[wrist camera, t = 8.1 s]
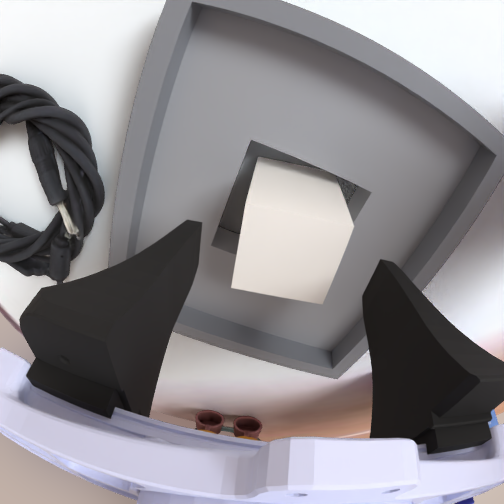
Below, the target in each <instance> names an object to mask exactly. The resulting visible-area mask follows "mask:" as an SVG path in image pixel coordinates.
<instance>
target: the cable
mask: <svg viewBox="0 0 504 504" xmlns="http://www.w3.org/2000/svg"><path fill="white" fill-rule="evenodd" d="M25 120H26V128H27V133H28V138H29V139H28V145H29V150H30V155H31V158H32V161H33V163H34V165H35V167H36V170H37V173H38V176H39V180H40V182H41V185H42V187H43V189H44V192H45V194H46V196H47V198H48V201H49V203H50V205H52V206H53V205H56V206H57V207H58V210H59V211H58V213H57V214H56V215H55V217H54V218H53V220H52V222H51V223H50V224H49V226H48V227H47V228H46V230H45V231H42V232H39V231H37V230H35V229H33V228H31V227H29V226H27V225H25V224H23V223H18V224H16V223H14V222H10V223H9V222H7V221H6V220H4V219H3V218H1V217H0V223H1V224H3V225H4V226H0V261H1V262H5V263H7V264H9V265H10V266H11V267H13V268H14V269H16V270H17V271H19V272H20V273H22V274H23V275H25V276H32V275H35V276H42V275H47V276H48V277H50V278H51V279H52V280H55V281H57V284H63V281H64V279H66V278H67V276H68V275H69V271H70V261H72V260H73V259H75V258H76V257H77V256H78V254H79V253H80V251H81V249H82V245H83V239H84V237H86V236H87V235H88V234H89V232H90V231H91V229H92V226H93V222H94V218H95V217H96V216H97V215H98V213H99V212H100V210H101V208H102V206H103V203H104V186H103V183H102V180H101V177H100V175H99V173H98V170H97V162H96V158H95V155H94V152H93V150H92V142H91V136H90V133H89V131H88V129H87V127H86V125H85V124H84V122H83V121H82V120H81V119H80V118H79V117H78V116H77V115H76V114H74V113H73V112H71V111H69V110H67V109H65V108H61V107H59V105H58V104H57V102H56V101H55V100H54V99H53V98H52V97H51V96H50V95H49V94H48V93H47V92H45V91H44V90H42V89H41V88H39V87H36V86H34V85H29V84H23V83H22V82H20V81H19V80H17V79H15V78H13V77H11V76H8V75H4V74H0V125H1V124H2V122H3V121H5V122H6V123H8V124H16V123H20V122H22V121H25ZM50 139H52V141H53V142H54V144H55V146H56V148H57V150H58V151H59V153H60V155H61V157H62V159H63V161H64V169H65V176H66V182H67V190H63V188H62V184H61V180H60V175H59V170H58V166H57V163H56V159H55V155H54V148H53V146H52V143H51V141H50Z"/></svg>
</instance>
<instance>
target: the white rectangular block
mask: <svg viewBox="0 0 504 504" xmlns="http://www.w3.org/2000/svg"><path fill="white" fill-rule="evenodd" d="M353 228H354V224H353V221H352V218H351V216H350V213H349V210H348V207H347V204H346V202H345V199H344V196H343V194H342V191H341V188H340V186H339V183H338V180H337V178H336V175H334V174H332V173H330V172H328V171H324V170H320V169H315V168H311V167H307V166H302V165H298V164H293V163H288V162H284V161H279V160H274V159H269V158H264V157H259V156H258V159H257V163H256V167H255V170H254V174H253V178H252V181H251V185H250V189H249V192H248V196H247V200H246V204H245V209H244V215H243V221H242V227H241V232H240V238H239V244H238V250H237V256H236V261H235V267H234V273H233V279H232V285H231V288H235V289H240V290H245V291H250V292H256V293H261V294H266V295H272V296H277V297H283V298H288V299H294V300H299V301H305V302H311V303H317V304H323V302H324V300H325V297H326V295H327V293H328V290H329V288H330V286H331V283H332V281H333V279H334V276H335V274H336V271H337V269H338V267H339V264H340V262H341V259H342V257H343V254H344V252H345V249H346V247H347V244H348V241H349V239H350V236H351V234H352V231H353Z"/></svg>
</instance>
